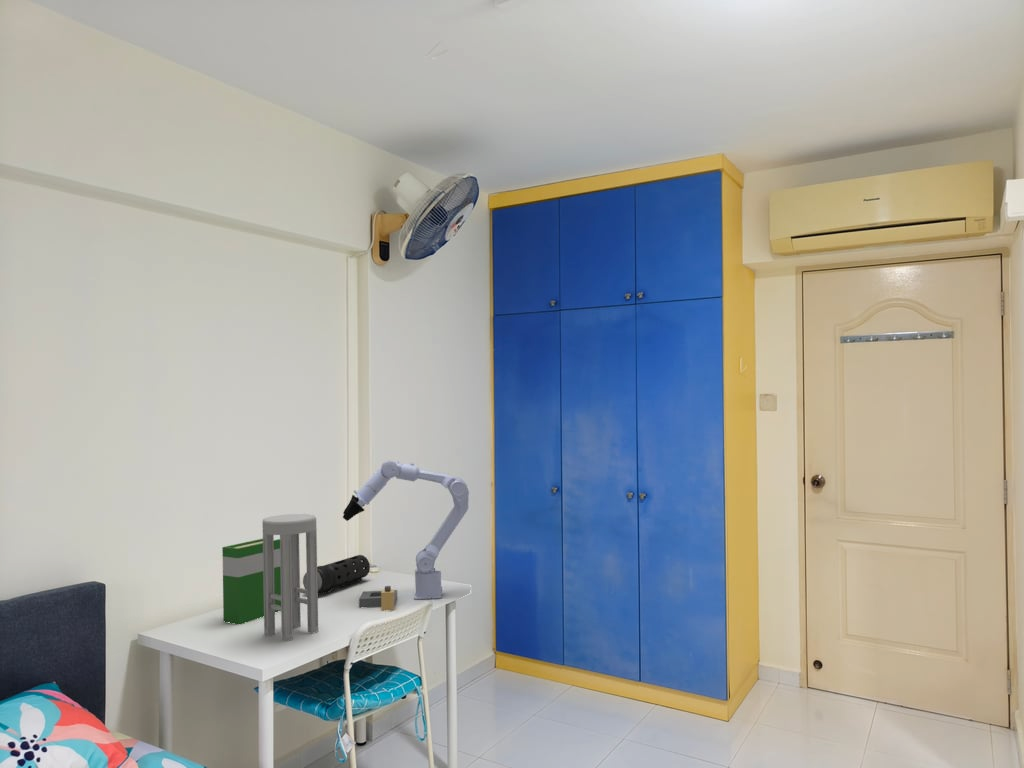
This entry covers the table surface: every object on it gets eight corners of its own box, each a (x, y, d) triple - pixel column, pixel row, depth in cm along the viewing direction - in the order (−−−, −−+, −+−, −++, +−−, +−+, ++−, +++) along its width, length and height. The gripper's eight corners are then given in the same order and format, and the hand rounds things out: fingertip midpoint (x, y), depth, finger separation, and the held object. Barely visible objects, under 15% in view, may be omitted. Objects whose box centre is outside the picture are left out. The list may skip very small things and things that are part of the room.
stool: (298, 622, 233) (296, 512, 234) (328, 631, 224) (326, 515, 225) (254, 635, 221) (252, 518, 222) (283, 644, 212) (281, 523, 213)
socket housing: (397, 598, 260) (397, 589, 260) (394, 606, 250) (394, 597, 250) (363, 600, 259) (362, 591, 259) (359, 607, 249) (359, 598, 249)
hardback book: (266, 608, 252) (265, 537, 252) (282, 610, 248) (280, 539, 249) (223, 621, 236) (222, 547, 237) (239, 624, 233) (237, 548, 233)
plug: (394, 607, 249) (394, 584, 249) (393, 610, 245) (393, 587, 245) (382, 607, 248) (382, 585, 248) (381, 610, 244) (381, 588, 245)
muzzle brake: (370, 581, 287) (370, 554, 287) (321, 599, 262) (320, 570, 262) (351, 579, 291) (351, 553, 292) (301, 596, 266) (300, 568, 267)
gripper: (363, 477, 266) (337, 505, 264) (363, 483, 252) (335, 513, 250) (377, 490, 267) (351, 518, 265) (378, 497, 253) (351, 526, 251)
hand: (344, 516), depth 258 cm, fingers open, 7 cm apart
